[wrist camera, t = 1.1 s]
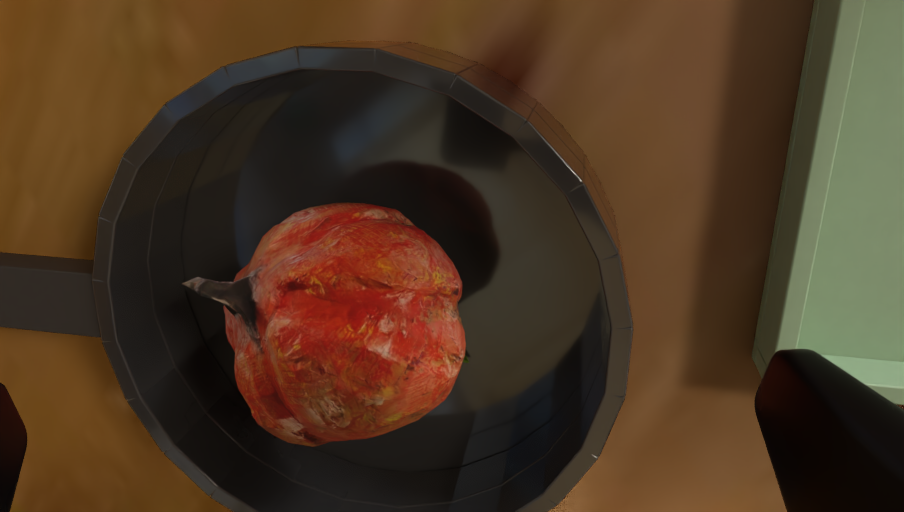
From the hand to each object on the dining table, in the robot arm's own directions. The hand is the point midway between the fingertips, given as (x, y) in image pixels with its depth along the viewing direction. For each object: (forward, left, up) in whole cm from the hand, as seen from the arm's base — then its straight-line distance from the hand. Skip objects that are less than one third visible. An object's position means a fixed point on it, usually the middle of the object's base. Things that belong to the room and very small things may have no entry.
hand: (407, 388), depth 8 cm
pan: (-5, +4, -15) cm, 17 cm away
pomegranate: (-5, +4, -15) cm, 16 cm away
